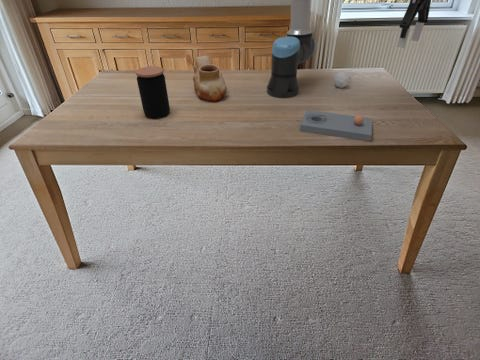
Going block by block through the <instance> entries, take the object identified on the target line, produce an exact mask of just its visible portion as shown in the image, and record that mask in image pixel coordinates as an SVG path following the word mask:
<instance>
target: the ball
mask: <svg viewBox="0 0 480 360" xmlns="http://www.w3.org/2000/svg"><path fill="white" fill-rule="evenodd" d="M355 116H356V117H355V118H354V123H355V124H356V125H360V124H362V123H363V121H364V119H363V117H364V116H362V115H355Z"/></svg>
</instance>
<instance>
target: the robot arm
mask: <svg viewBox="0 0 480 360" xmlns="http://www.w3.org/2000/svg"><path fill="white" fill-rule="evenodd" d="M311 2H312V0H290V29H289V30H288V31H287V32H286V36H284V37H283V36H282V37H279V38H277V39H275V40H274V42H273V43H272V49H271V70H270V71H271V72H270V78H269V81H268V83H267V85H266V93H267V95H269V96H271V97H274V98H279V99H287V98H294V97H296V96H297V95H299V91H300V87H299V83H298V76H297V75H298V74H297V73H298V66H299V65H300V64H302V63H304V62H306V61H308V60H309V59H310V58H311V57H312V56H313V55H314V54H315V51H316V47H317V46H316V41H315V39H314V37H313V35H314V34H313V33H314V32H313V30H312V29H311V28H310V25H311V8H312V7H311V4H312V3H311ZM431 2H432V0H410V1H409V4H408V6H407V9H406V11H405V12H404V16H403V18H402V20H401V22H400V24H399V29H400V28H401V31H400V33H399V36H398V37H399V38H398V40H397V44H396V47H397V48H403V49H405V48H406V43H407V41H408V37H409V34H410V31H411V28H410V27H411V26H412V24H413V22H414V20H415V18H416V16H417V22H416V23H415V26H414V30H413V32H412V35H411V39H410V41H414V42H419V41H420V38H421V35H422V32H423V28H424V25H425V24H427V23H429V22H428V21H429V20H428V19H429V14H430V11H431V9H430V8H431Z"/></svg>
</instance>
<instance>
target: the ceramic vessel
mask: <svg viewBox="0 0 480 360" xmlns="http://www.w3.org/2000/svg"><path fill="white" fill-rule="evenodd" d="M194 60H195V63H194V64H193V66H192V68H193V71H194V74H193V77H192V81H193V86H194V91H195V92H196V94H197V97H198V98H199V99H200V100H201V101H205V102H210V103H217V102H220V101H221V99H223V98H225V95H226V93H227V91H228V87H227V85H226V82H225V79H224V77H223V74H222V72H221V71H220V67H219V66H217V65H215V64H213V62H212V60H211V57H210V56H209V55H202V56H197V57H196V58H195V59H194Z"/></svg>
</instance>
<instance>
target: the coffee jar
mask: <svg viewBox="0 0 480 360" xmlns="http://www.w3.org/2000/svg"><path fill="white" fill-rule="evenodd" d="M134 74H135V75H136V81H137V87H138V91H139V96H140V100H141V105H142V109H143V110H142V111H143V114H144V115H145V117H147V118H149V119H151V120H152V119H153V120H157V119H163V118H165V117H167V116H168V115H169V114H170V111H171V108H170V101H169V95H168V90H167V83H166V76H165V74H164V68H163V67H161V66H154V65H153V66H152V65H151V66H144V67H139V68H137V69H136V70H135V73H134Z"/></svg>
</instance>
